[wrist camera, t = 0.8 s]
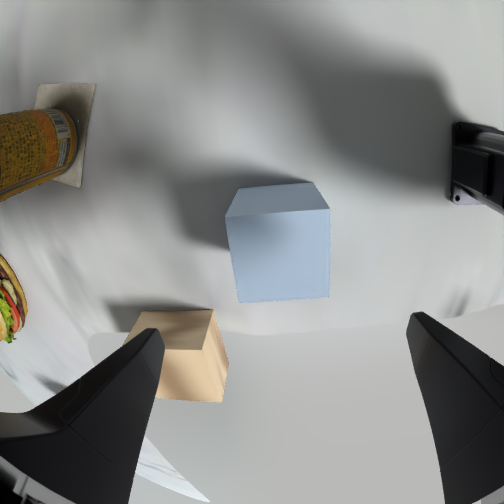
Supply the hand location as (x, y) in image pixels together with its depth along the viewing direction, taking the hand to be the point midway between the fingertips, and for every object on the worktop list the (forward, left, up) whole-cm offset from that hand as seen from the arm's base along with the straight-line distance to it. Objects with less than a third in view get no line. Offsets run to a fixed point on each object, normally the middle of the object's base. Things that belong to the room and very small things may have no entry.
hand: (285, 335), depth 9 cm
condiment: (+17, -10, -12) cm, 23 cm away
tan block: (+10, +11, -12) cm, 19 cm away
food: (+37, +4, -12) cm, 39 cm away
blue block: (0, 0, -12) cm, 12 cm away
